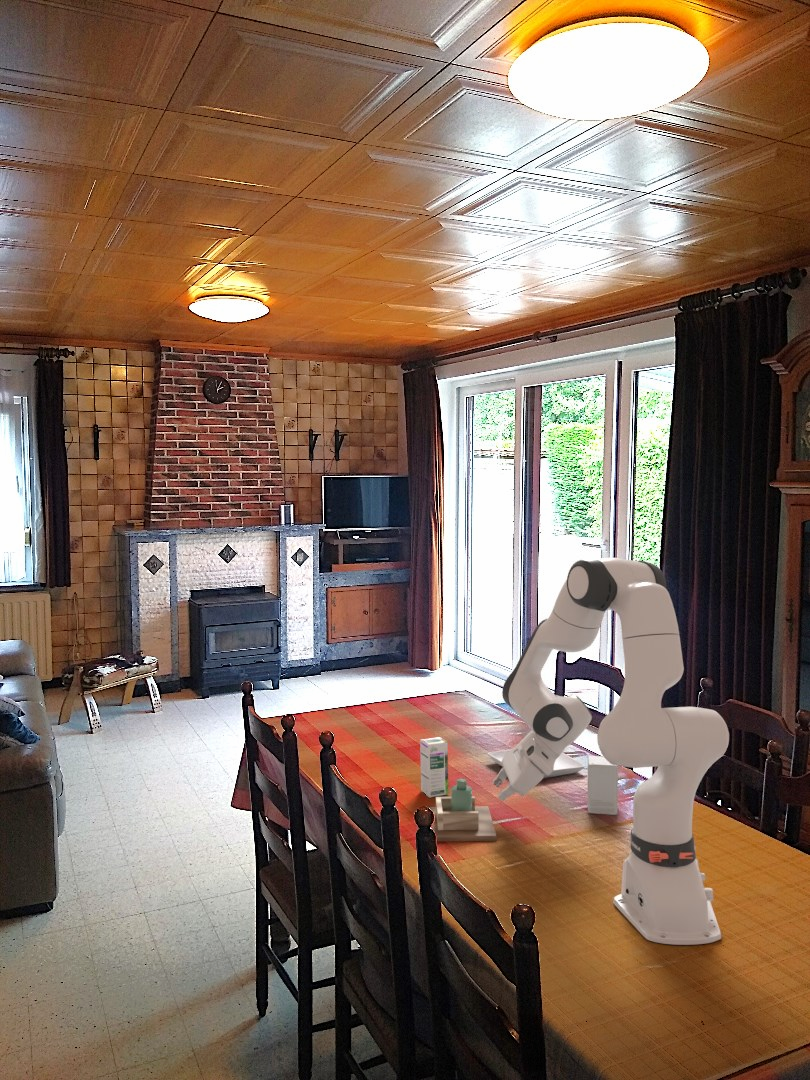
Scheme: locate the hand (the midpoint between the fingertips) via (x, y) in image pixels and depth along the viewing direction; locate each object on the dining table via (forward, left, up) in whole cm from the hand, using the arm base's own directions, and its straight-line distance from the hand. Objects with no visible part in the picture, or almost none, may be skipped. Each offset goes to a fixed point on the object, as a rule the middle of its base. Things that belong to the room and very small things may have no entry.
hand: (497, 791), depth 210 cm
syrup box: (+22, +14, -9) cm, 28 cm away
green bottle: (0, +9, -7) cm, 11 cm away
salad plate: (+40, -16, -9) cm, 44 cm away
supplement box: (+9, -28, -9) cm, 30 cm away
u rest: (0, +9, -8) cm, 13 cm away
